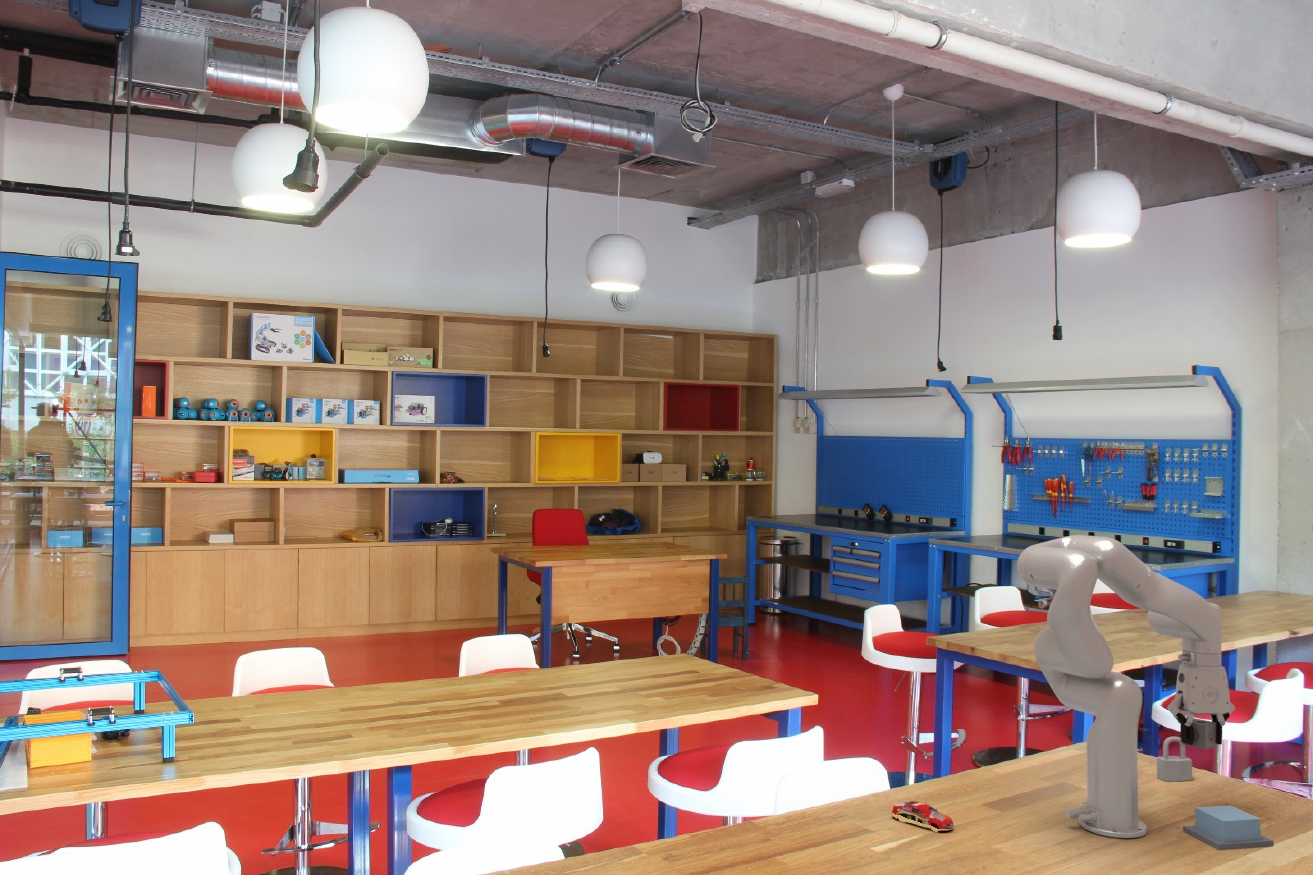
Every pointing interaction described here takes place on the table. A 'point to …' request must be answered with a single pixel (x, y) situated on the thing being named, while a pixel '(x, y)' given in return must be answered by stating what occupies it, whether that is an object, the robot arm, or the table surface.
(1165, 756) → the padlock
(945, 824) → the race car
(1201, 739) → the dice cube
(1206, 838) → the base
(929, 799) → the table surface
